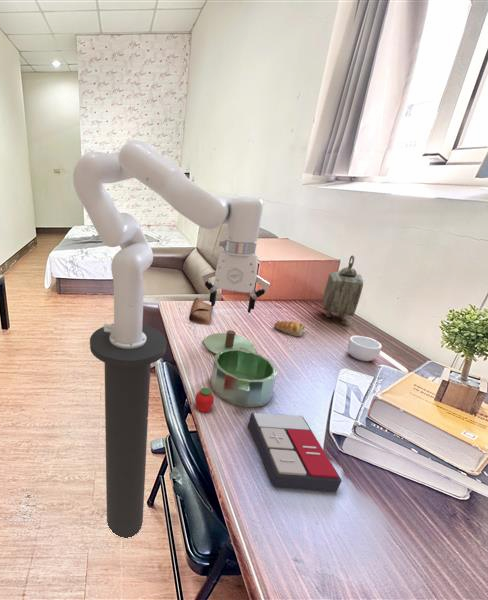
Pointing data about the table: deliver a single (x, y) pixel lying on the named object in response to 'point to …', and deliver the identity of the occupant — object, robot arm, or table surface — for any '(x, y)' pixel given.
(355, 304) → the tabletop clock
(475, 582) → the table surface
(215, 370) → the tin
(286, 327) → the pastry
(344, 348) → the table surface
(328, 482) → the calculator
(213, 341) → the lid
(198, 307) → the sunglasses case
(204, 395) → the strawberry
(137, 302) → the robot arm
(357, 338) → the teacup
